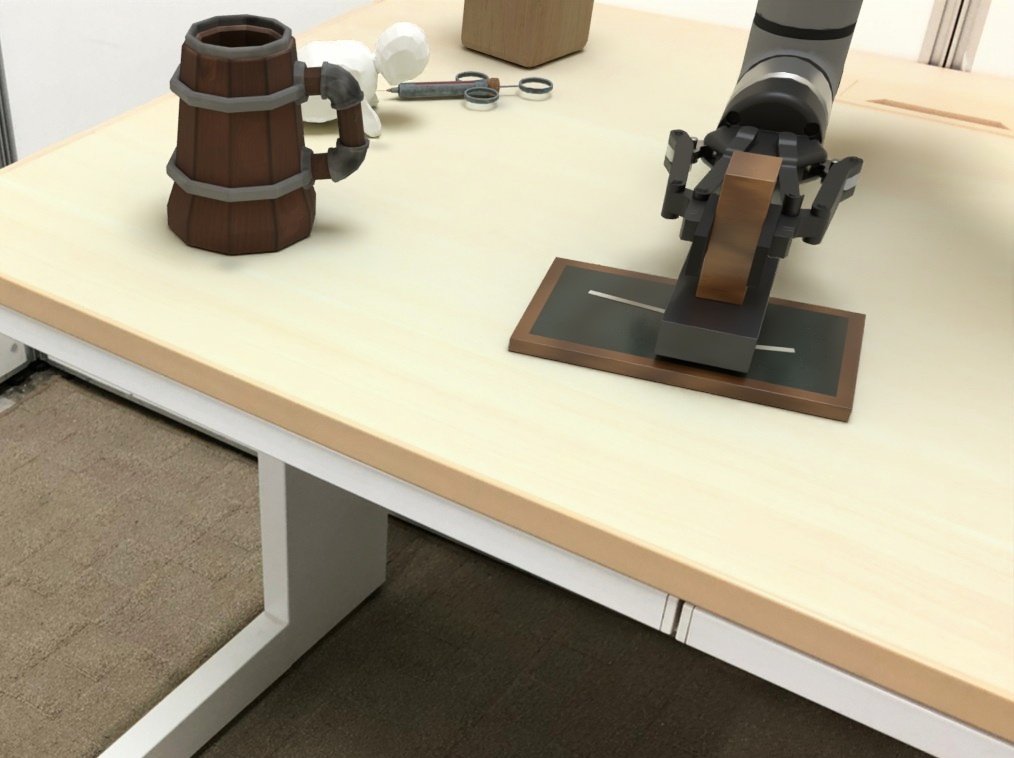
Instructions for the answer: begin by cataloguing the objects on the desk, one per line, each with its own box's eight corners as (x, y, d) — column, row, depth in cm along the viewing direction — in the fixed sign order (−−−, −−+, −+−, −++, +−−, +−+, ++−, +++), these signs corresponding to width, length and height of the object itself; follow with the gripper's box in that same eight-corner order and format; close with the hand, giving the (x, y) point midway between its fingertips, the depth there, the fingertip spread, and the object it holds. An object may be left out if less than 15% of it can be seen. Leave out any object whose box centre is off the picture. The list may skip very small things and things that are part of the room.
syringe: (363, 85, 124) (364, 68, 123) (541, 79, 125) (543, 62, 124) (374, 114, 118) (375, 96, 117) (561, 108, 119) (563, 90, 118)
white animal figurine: (292, 168, 116) (447, 110, 112) (257, 83, 110) (419, 19, 107) (293, 133, 122) (440, 77, 118) (260, 50, 117) (413, -11, 113)
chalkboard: (861, 326, 87) (866, 313, 87) (847, 422, 78) (852, 408, 78) (553, 268, 94) (555, 255, 93) (507, 350, 85) (509, 337, 84)
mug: (157, 251, 96) (143, 53, 87) (187, 186, 105) (178, 1, 96) (358, 264, 95) (367, 64, 85) (371, 197, 104) (381, 9, 94)
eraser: (770, 290, 88) (814, 138, 81) (747, 373, 80) (793, 212, 72) (684, 274, 90) (719, 124, 83) (653, 354, 81) (689, 194, 74)
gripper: (871, 193, 93) (846, 342, 76) (654, 158, 98) (586, 291, 81) (904, 92, 88) (885, 228, 71) (673, 61, 93) (606, 181, 76)
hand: (726, 261), depth 76 cm, fingers closed on eraser, 3 cm apart
